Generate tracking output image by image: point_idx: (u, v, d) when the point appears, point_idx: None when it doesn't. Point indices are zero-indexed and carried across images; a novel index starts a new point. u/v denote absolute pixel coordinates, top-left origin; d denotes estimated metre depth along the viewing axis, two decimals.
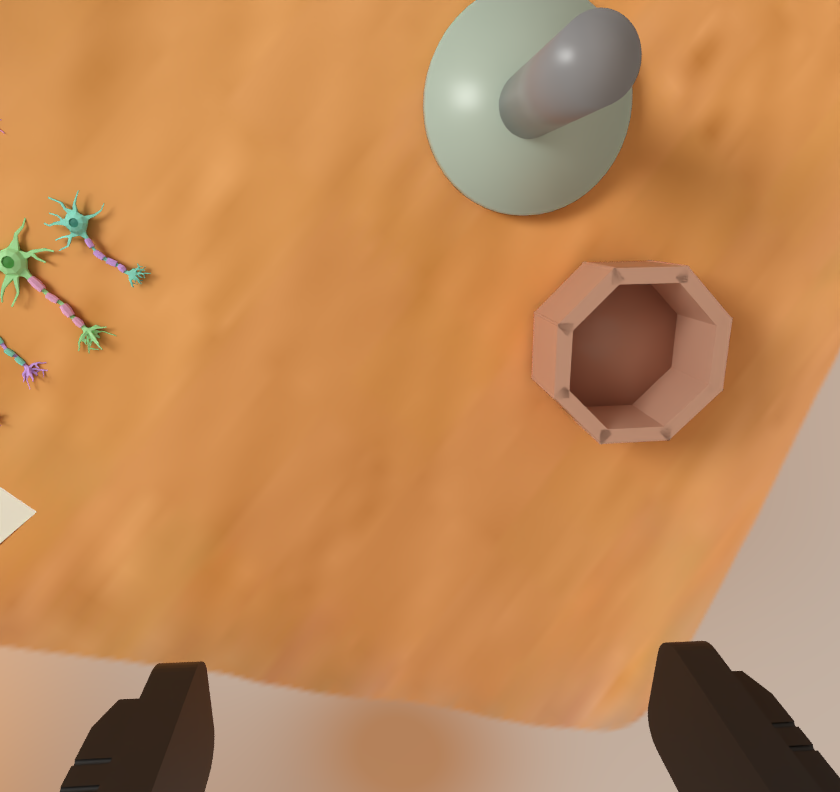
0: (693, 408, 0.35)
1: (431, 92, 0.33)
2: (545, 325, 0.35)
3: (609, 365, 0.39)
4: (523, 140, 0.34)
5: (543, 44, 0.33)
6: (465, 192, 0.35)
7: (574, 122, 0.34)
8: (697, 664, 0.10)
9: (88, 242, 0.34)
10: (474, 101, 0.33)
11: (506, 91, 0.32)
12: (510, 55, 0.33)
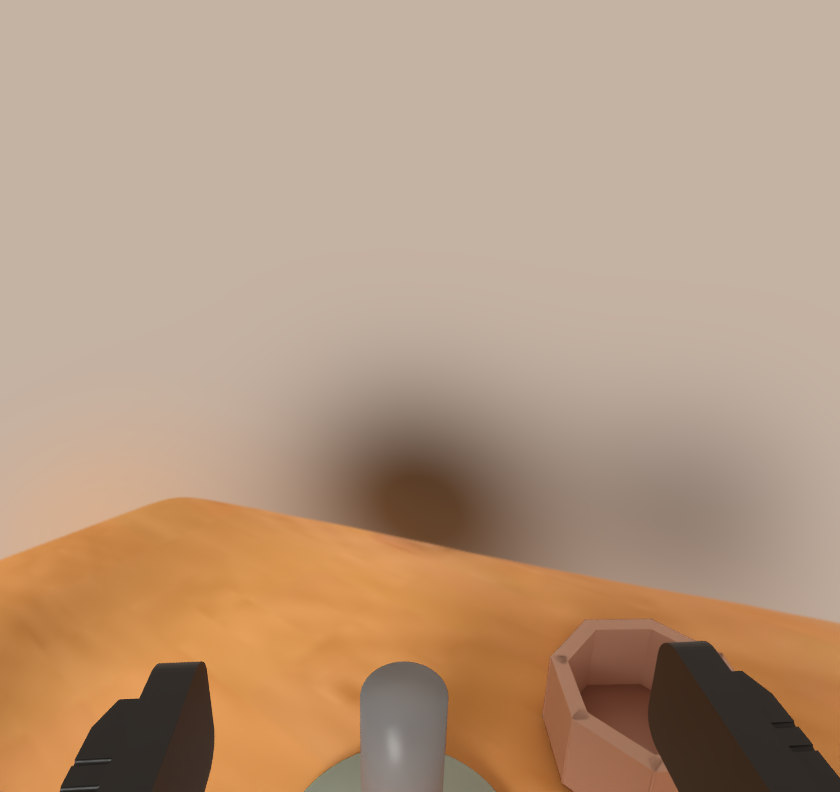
0: (680, 637, 0.36)
1: None
2: None
3: None
4: None
5: None
6: None
7: None
8: (697, 664, 0.10)
9: None
10: None
11: None
12: None
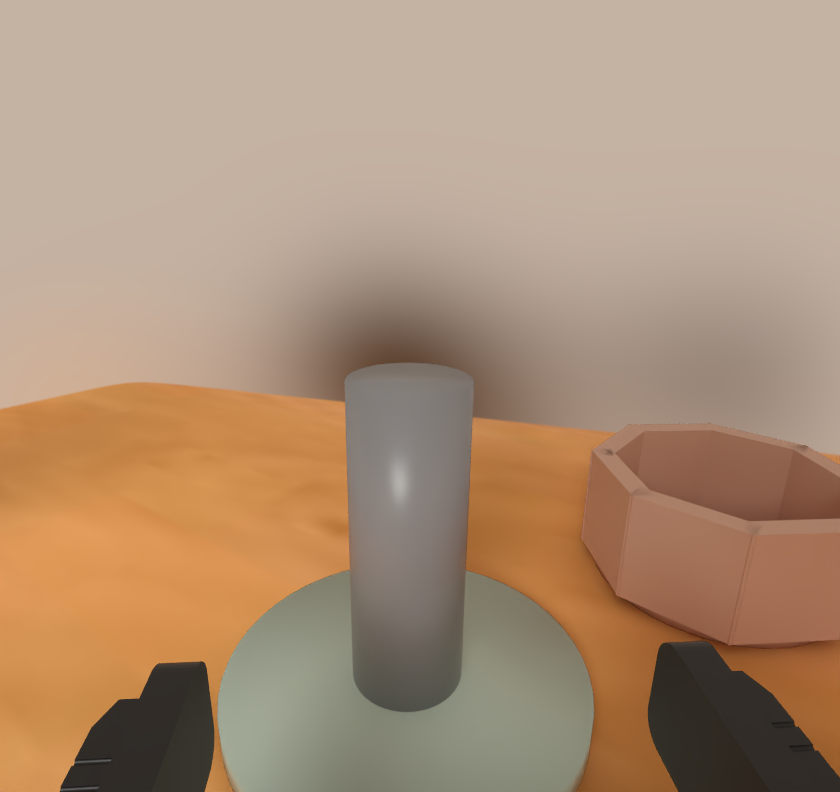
0: (749, 435, 0.29)
1: None
2: (753, 587, 0.21)
3: None
4: (464, 672, 0.20)
5: (316, 658, 0.20)
6: (582, 755, 0.17)
7: None
8: (697, 664, 0.10)
9: None
10: (409, 752, 0.17)
11: (399, 668, 0.17)
12: (330, 701, 0.18)
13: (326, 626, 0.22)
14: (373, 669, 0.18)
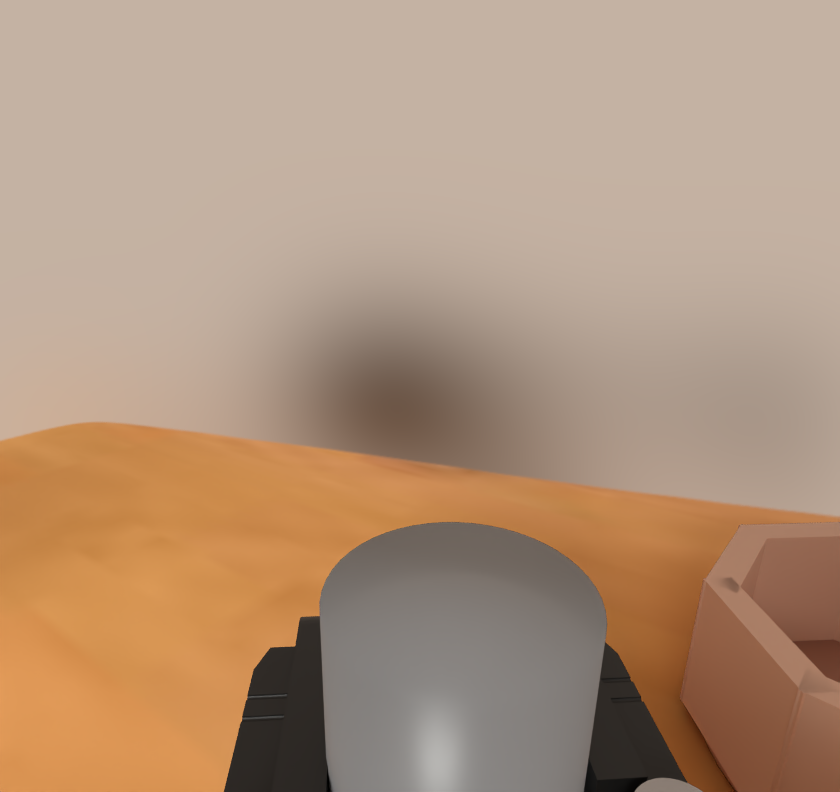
0: None
1: None
2: None
3: None
4: None
5: None
6: None
7: None
8: None
9: None
10: None
11: None
12: None
13: None
14: None
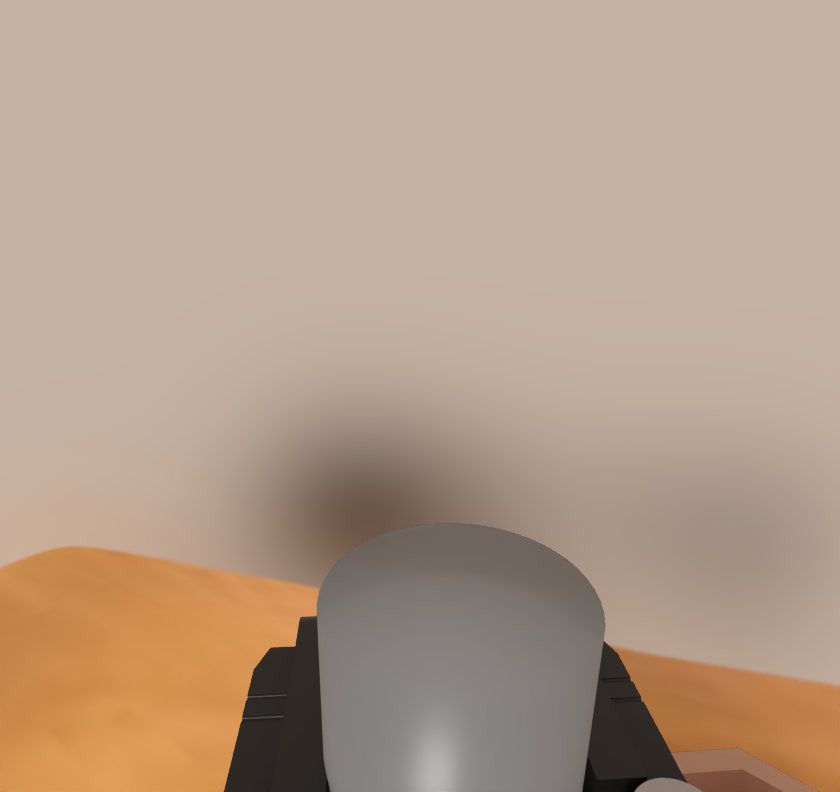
0: (791, 785, 0.22)
1: None
2: None
3: None
4: None
5: None
6: None
7: None
8: None
9: None
10: None
11: None
12: None
13: None
14: None
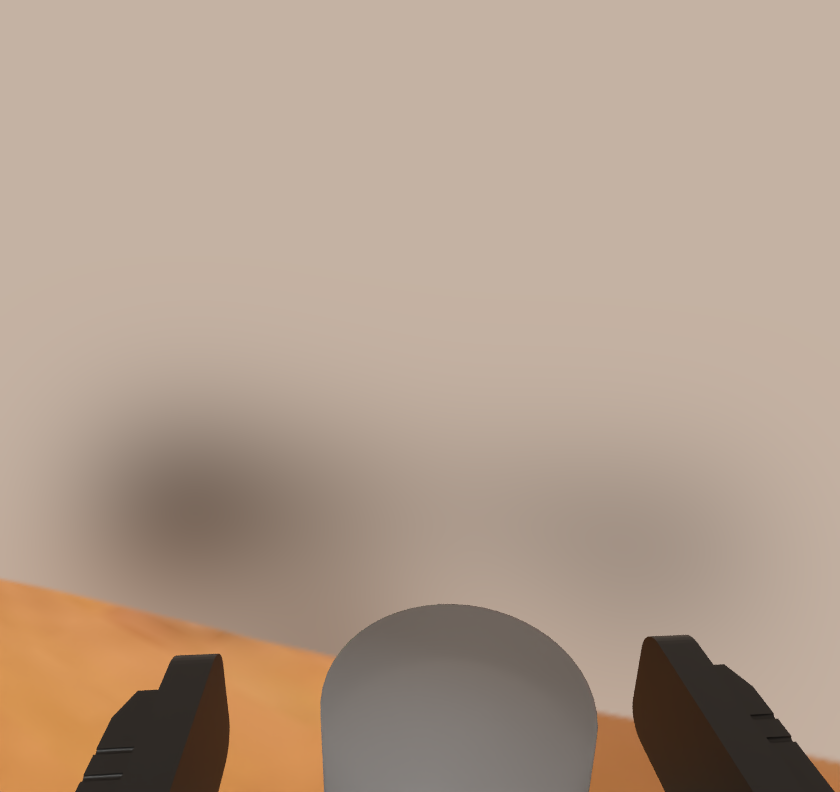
0: None
1: None
2: None
3: None
4: None
5: None
6: None
7: None
8: (679, 658, 0.10)
9: None
10: None
11: None
12: None
13: None
14: None
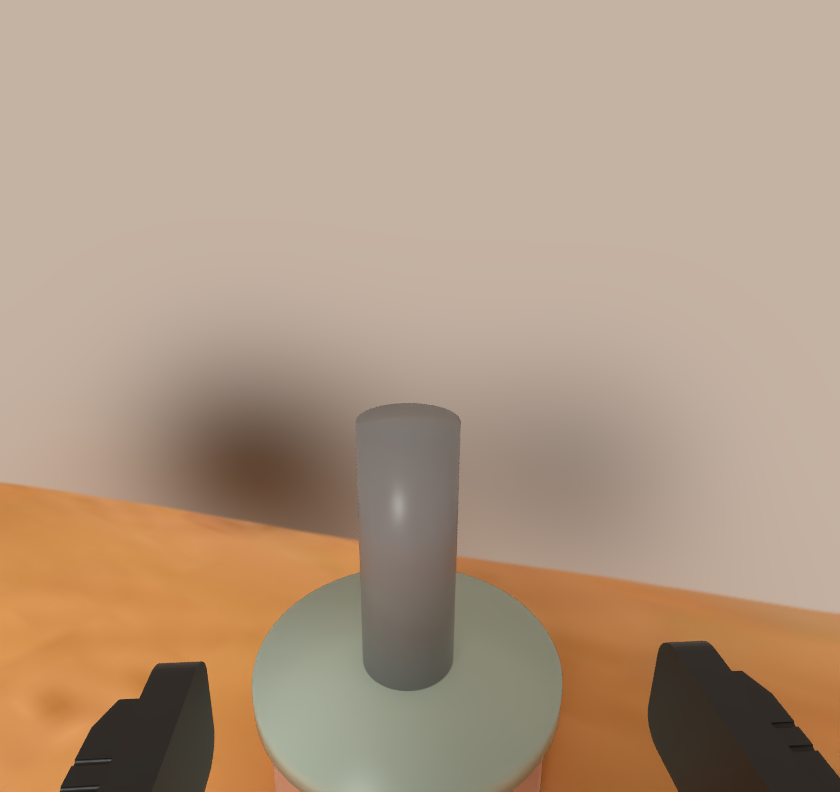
0: None
1: (403, 790, 0.18)
2: None
3: None
4: (455, 658, 0.23)
5: (332, 648, 0.24)
6: (550, 723, 0.21)
7: None
8: (697, 664, 0.10)
9: None
10: (411, 722, 0.21)
11: (402, 655, 0.21)
12: (345, 683, 0.22)
13: (339, 622, 0.25)
14: (380, 656, 0.22)
